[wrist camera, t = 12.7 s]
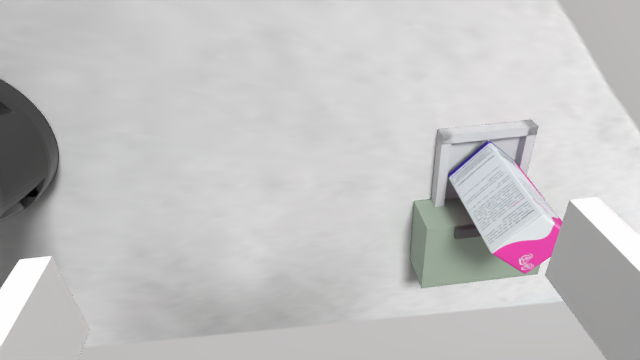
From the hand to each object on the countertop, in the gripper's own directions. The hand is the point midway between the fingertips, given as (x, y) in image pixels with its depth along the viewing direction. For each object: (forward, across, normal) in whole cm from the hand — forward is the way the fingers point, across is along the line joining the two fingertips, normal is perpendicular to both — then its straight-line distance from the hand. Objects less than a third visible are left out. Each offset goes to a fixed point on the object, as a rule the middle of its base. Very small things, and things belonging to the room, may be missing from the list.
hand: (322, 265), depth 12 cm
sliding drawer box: (+31, +20, -22) cm, 43 cm away
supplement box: (+30, +20, -18) cm, 41 cm away
